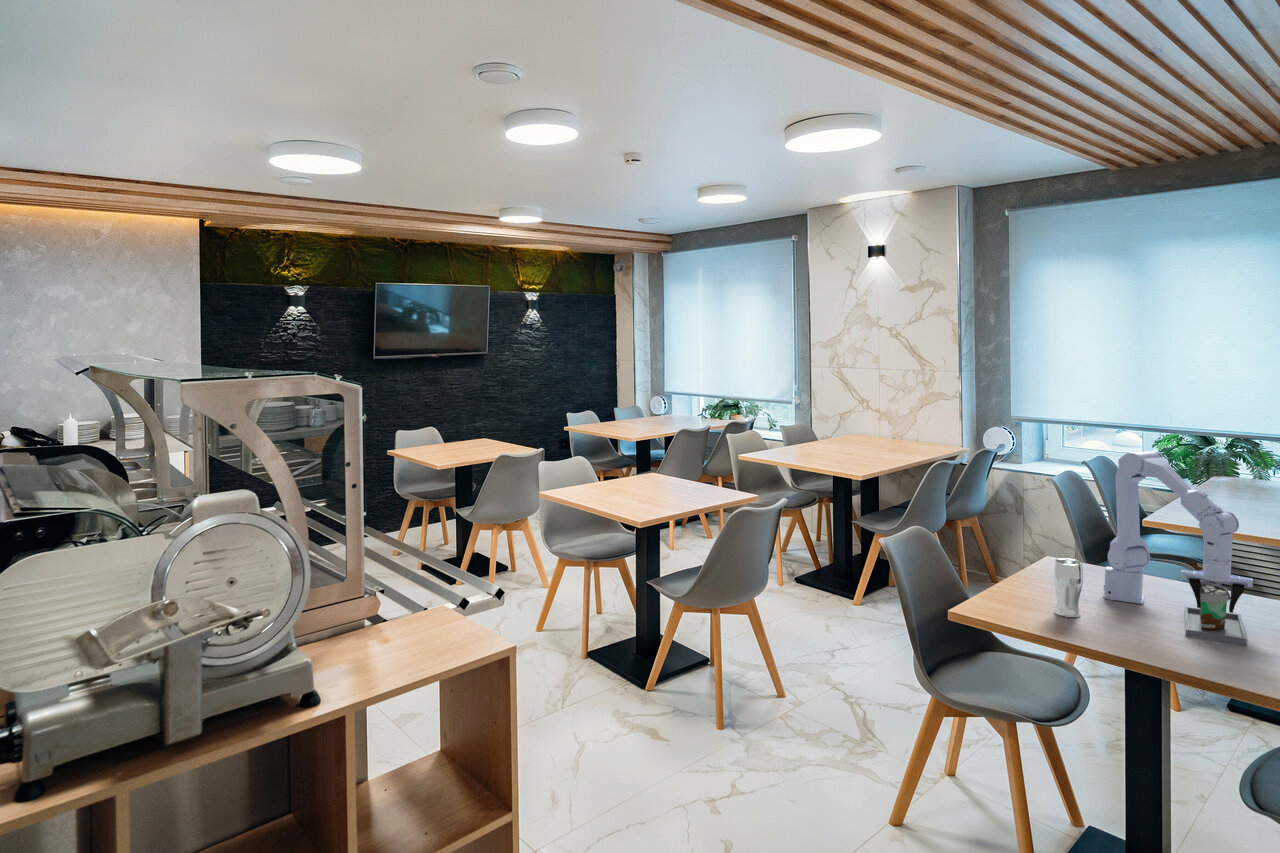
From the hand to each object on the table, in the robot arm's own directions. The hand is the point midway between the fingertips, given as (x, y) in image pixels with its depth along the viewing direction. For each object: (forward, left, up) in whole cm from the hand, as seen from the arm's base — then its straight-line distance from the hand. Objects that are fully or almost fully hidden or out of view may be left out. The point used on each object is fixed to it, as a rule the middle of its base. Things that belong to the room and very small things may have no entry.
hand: (1214, 609), depth 191 cm
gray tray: (0, 0, -5) cm, 5 cm away
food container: (0, 0, -5) cm, 5 cm away
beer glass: (-33, -8, -5) cm, 34 cm away
